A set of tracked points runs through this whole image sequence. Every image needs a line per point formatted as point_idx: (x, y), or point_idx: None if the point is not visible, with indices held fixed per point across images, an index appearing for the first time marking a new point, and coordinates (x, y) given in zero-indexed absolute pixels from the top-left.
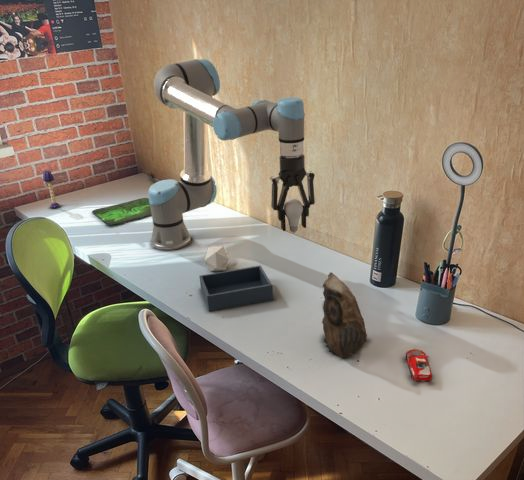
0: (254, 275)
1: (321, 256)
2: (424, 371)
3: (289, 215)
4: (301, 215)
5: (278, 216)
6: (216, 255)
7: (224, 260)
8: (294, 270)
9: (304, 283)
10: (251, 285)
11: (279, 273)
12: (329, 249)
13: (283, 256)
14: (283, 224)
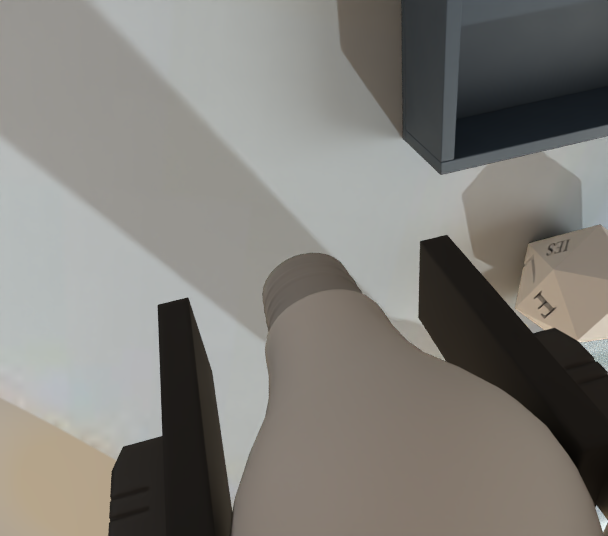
0: (457, 132)
1: (57, 344)
2: None
3: (483, 381)
4: (224, 469)
5: (596, 383)
6: None
7: (572, 259)
8: (214, 217)
9: (165, 54)
10: (474, 68)
11: (298, 193)
12: (15, 404)
13: (254, 347)
14: (488, 286)
